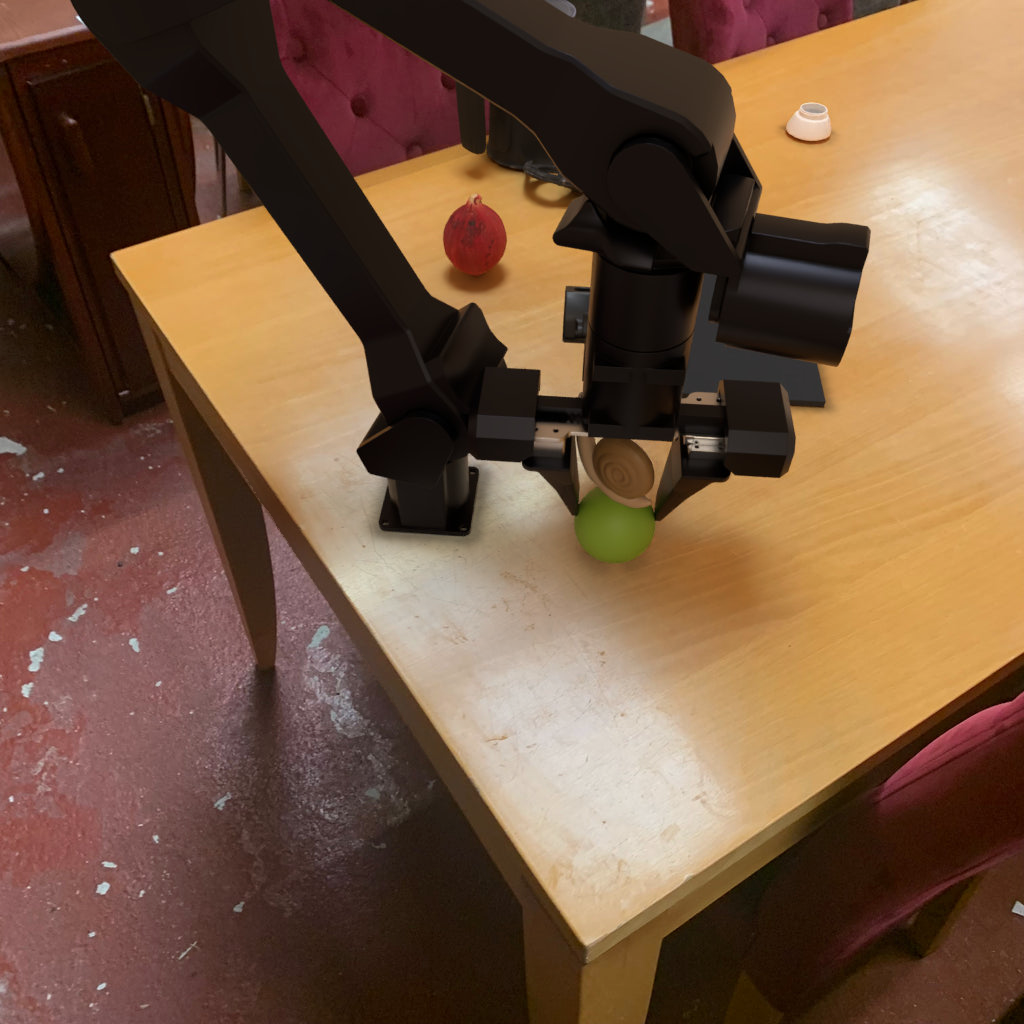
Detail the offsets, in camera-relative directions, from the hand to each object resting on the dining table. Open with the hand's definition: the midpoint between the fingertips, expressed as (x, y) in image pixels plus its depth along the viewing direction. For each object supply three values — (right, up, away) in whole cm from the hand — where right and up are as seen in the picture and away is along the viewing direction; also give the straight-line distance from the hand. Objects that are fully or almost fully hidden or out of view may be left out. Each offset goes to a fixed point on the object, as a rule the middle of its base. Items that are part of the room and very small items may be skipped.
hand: (616, 513), depth 59 cm
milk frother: (-4, +38, +38) cm, 54 cm away
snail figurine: (0, -2, +3) cm, 4 cm away
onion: (-10, +22, +25) cm, 35 cm away
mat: (+13, +16, +19) cm, 28 cm away
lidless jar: (+27, +44, +44) cm, 68 cm away
